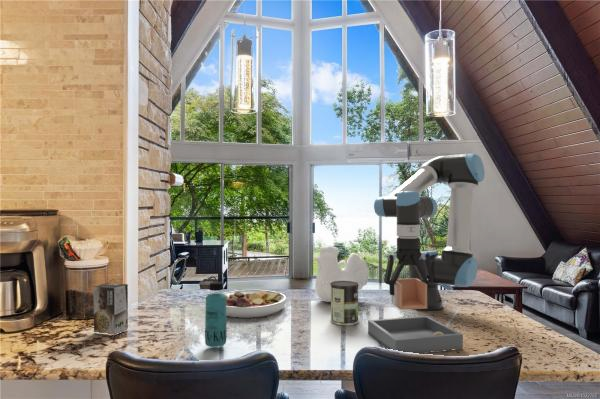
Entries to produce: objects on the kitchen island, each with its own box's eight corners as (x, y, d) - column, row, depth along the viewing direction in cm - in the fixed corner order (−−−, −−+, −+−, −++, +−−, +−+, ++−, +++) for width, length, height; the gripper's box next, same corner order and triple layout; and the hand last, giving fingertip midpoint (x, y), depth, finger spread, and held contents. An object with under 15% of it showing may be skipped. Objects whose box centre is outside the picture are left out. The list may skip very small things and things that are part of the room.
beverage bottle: (206, 344, 125) (206, 280, 125) (228, 344, 126) (228, 279, 126) (203, 352, 119) (203, 284, 119) (226, 352, 120) (226, 284, 120)
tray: (427, 328, 141) (427, 315, 141) (462, 349, 122) (462, 334, 122) (368, 333, 136) (368, 320, 136) (395, 355, 117) (395, 340, 117)
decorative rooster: (316, 307, 170) (316, 247, 170) (312, 298, 185) (312, 243, 185) (375, 306, 171) (375, 247, 171) (367, 297, 187) (367, 243, 187)
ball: (437, 340, 126) (434, 347, 123) (432, 330, 126) (429, 336, 123) (448, 339, 124) (445, 345, 121) (443, 328, 124) (440, 334, 121)
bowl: (221, 300, 182) (221, 282, 182) (288, 301, 181) (288, 283, 181) (202, 320, 152) (202, 299, 152) (282, 321, 151) (282, 300, 151)
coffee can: (359, 318, 154) (359, 281, 154) (357, 326, 144) (357, 286, 144) (332, 316, 156) (332, 279, 156) (328, 324, 146) (328, 285, 146)
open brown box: (391, 302, 140) (391, 279, 140) (417, 301, 141) (416, 278, 141) (400, 309, 131) (399, 284, 131) (427, 308, 132) (427, 284, 132)
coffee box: (128, 331, 139) (128, 283, 139) (114, 337, 132) (114, 287, 132) (107, 328, 142) (107, 282, 142) (92, 334, 135) (92, 285, 135)
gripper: (379, 239, 131) (380, 308, 131) (444, 237, 133) (445, 306, 133) (373, 236, 139) (374, 302, 139) (435, 235, 140) (435, 300, 141)
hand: (408, 304), depth 136 cm, fingers closed on open brown box, 9 cm apart
